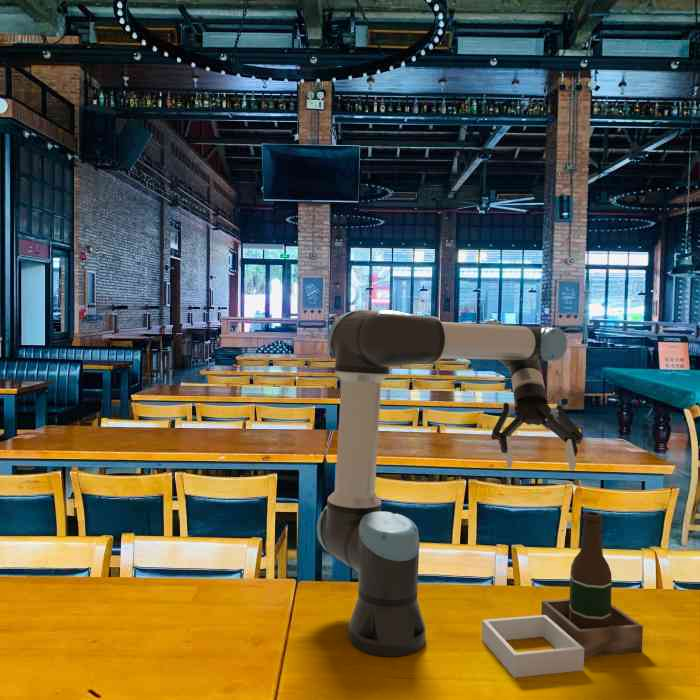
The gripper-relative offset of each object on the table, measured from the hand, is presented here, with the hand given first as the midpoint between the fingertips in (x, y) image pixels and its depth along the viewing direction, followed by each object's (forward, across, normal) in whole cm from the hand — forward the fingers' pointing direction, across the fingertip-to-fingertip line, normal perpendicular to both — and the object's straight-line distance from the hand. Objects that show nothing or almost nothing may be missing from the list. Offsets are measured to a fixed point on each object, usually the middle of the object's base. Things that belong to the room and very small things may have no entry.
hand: (541, 465), depth 138 cm
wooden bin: (+31, -8, -14) cm, 35 cm away
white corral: (+37, +6, -8) cm, 38 cm away
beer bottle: (+30, -8, -13) cm, 34 cm away
